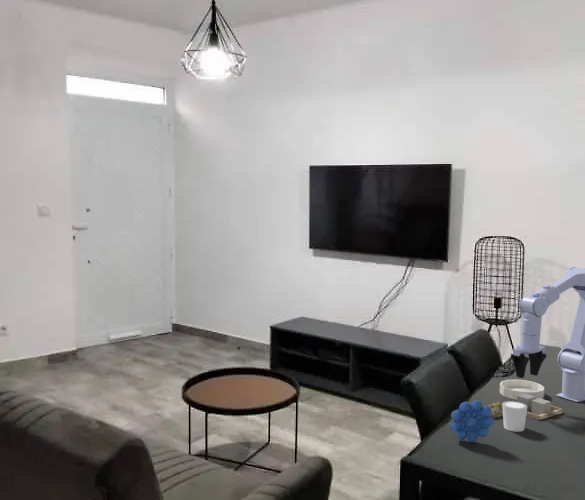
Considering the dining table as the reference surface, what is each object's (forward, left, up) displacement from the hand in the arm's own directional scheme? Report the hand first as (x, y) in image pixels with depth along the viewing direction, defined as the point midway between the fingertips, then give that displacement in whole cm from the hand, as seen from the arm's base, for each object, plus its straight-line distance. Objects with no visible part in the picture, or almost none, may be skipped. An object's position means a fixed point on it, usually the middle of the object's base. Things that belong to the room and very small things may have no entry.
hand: (527, 376), depth 189 cm
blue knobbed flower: (+35, +9, -11) cm, 38 cm away
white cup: (+17, +9, -11) cm, 22 cm away
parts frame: (0, +3, -11) cm, 11 cm away
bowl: (-11, -10, -11) cm, 18 cm away
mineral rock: (+13, -2, -11) cm, 17 cm away
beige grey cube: (0, +5, -11) cm, 12 cm away
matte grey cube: (0, 0, -11) cm, 11 cm away
